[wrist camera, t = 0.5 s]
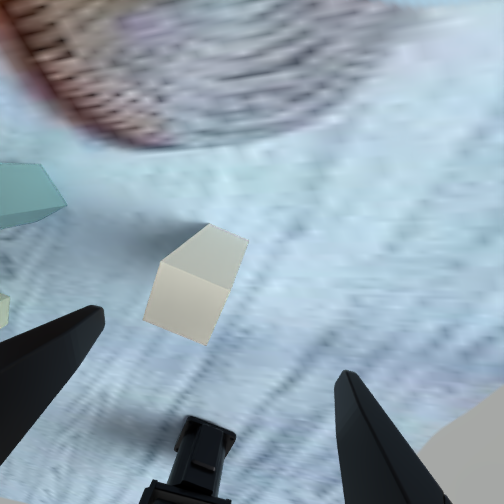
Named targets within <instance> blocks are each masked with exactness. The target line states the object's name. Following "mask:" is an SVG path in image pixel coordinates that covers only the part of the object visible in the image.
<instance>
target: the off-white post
mask: <svg viewBox="0 0 504 504" xmlns="http://www.w3.org/2000/svg"><path fill="white" fill-rule="evenodd" d="M248 243H249V240H247V239H245V238H242V237H240V236H238V235H235V234H233V233H231V232H228V231H226V230H224V229H222V228H219V227H217V226H215V225H212V224H210V223H209V224H208V225H207V226H205V227H204V228H203V229H201V230H200V231H199V232H198V233H196V234H195V235H194V236H192V237H191V238H190V239H189V240H187V241H186V242H185V243H183V244H182V245H181V246H180V247H178V248H177V249H176V250H174V251H173V252H172V253H170V254H169V255H168V256H167V257H165V258H164V259H163V260H161V261H160V265H159V268H158V271H157V274H156V278H155V281H154V284H153V287H152V291H151V294H150V297H149V300H148V304H147V307H146V310H145V313H144V317H143V321H146V322H148V323H151V324H153V325H156V326H158V327H161V328H163V329H166V330H168V331H171V332H173V333H175V334H178V335H180V336H183V337H185V338H188V339H190V340H193V341H195V342H198V343H200V344H203V345H205V346H207V343H208V341H209V339H210V337H211V334H212V332H213V330H214V327H215V325H216V323H217V321H218V318H219V316H220V314H221V312H222V309H223V307H224V305H225V302H226V300H227V298H228V296H229V293H230V291H231V288H232V286H233V283H234V280H235V278H236V275H237V272H238V270H239V267H240V264H241V262H242V259H243V256H244V254H245V251H246V248H247V246H248Z"/></svg>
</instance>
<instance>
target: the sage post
mask: <svg viewBox="0 0 504 504" xmlns="http://www.w3.org/2000/svg"><path fill="white" fill-rule="evenodd" d="M9 303H10V297H9V296H7V295H4V294H2V293H0V329H1V328H2V327H4V326H6V325H8V316H9Z"/></svg>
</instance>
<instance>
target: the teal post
mask: <svg viewBox="0 0 504 504" xmlns="http://www.w3.org/2000/svg"><path fill="white" fill-rule="evenodd" d="M65 206H67V204H66V202H65V201H64V199H63V198H62V196H61V195H60V193H59V192H58V190H57V189H56V187H55V185H54V184H53V182H52V181H51V179H50V178H49V176H48V175H47V173H46V172H45V170H44V168H43V167H42V165H41V164H17V163H0V229H4V228H9V227H13V226H18V225H23V224H28V223H33V222H37V221H39V220H41V219H43V218H45V217H46V216H48V215H50V214H52V213H54V212H56V211H58V210H59V209H61V208H63V207H65Z"/></svg>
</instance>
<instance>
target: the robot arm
mask: <svg viewBox="0 0 504 504" xmlns="http://www.w3.org/2000/svg"><path fill="white" fill-rule="evenodd" d="M104 326H105V317H104V309H103V308H102V307H99V306H96V305H89V306H86V307H84V308H82V309H79V310H77V311H74V312H72V313H70V314H67V315H65V316H62V317H60V318H58V319H55V320H53V321H50V322H48V323H46V324H43V325H41V326H38V327H36V328H34V329H31V330H29V331H26V332H24V333H22V334H19V335H17V336H14V337H12V338H10V339H7V340H5V341H3V342H0V466H1V465H2V463H3V462H4V461H5V460H6V458H7V457H8V456H9V454H10V453H11V452H12V451H13V449H14V448H15V447H16V446H17V444H18V443H19V442H20V441H21V439H22V438H23V437H24V436H25V434H26V433H27V432H28V431H29V429H30V428H31V427H32V426H33V424H34V423H35V422H36V421H37V419H38V418H39V417H40V415H41V414H42V413H43V412H44V410H45V409H46V408H47V407H48V405H49V404H50V403H51V402H52V400H53V399H54V398H55V397H56V395H57V394H58V393H59V392H60V390H61V389H62V388H63V387H64V385H65V384H66V383H67V382H68V380H69V379H70V378H71V376H72V375H73V374H74V373H75V371H76V370H77V369H78V367H79V366H80V364H81V363H82V361H83V360H84V358H85V357H86V355H87V354H88V352H89V351H90V349H91V348H92V346H93V344H94V343H95V341H96V340H97V338H98V337H99V335H100V334H101V332H102V331H103V329H104ZM334 398H335V424H336V439H337V448H338V455H339V462H340V470H341V477H342V484H343V492H344V499H345V504H452V502H451V501H450V500H449V498H448V497H447V496H446V495H445V494H444V492H443V490H442V489H441V488H440V486H439V485H438V483H437V482H436V481H435V479H434V478H433V477H432V475H431V474H430V473H429V471H428V470H427V469H426V467H425V466H424V465H423V463H422V462H421V461H420V459H419V458H418V456H417V455H416V453H415V452H414V451H413V449H412V448H411V447H410V445H409V444H408V443H407V441H406V440H405V439H404V437H403V436H402V434H401V433H400V432H399V430H398V429H397V428H396V426H395V425H394V424H393V422H392V421H391V419H390V418H389V417H388V415H387V414H386V413H385V411H384V410H383V409H382V407H381V406H380V404H379V403H378V402H377V400H376V399H375V398H374V396H373V395H372V394H371V392H370V391H369V389H368V388H367V387H366V385H365V384H364V383H363V381H362V380H361V379H360V377H359V376H358V375H357V374H356V373H355V372H353V371H349V370H343V371H342V373H341V375H340V376H339V378H338V379H337V381H336V383H335V386H334ZM235 440H236V434H234V433H232V432H229V431H227V430H224V429H222V428H219V427H217V426H214V425H212V424H209V423H207V422H204V421H201V420H199V419H196V418H194V417H188V419H187V421H186V423H185V425H184V428H183V430H182V432H181V434H180V436H179V438H178V440H177V443H176V445H175V447H174V450H175V451H176V452H178V453H177V456H176V459H175V461H174V464H173V467H172V470H171V473H170V476H169V479H168V482H167V484H164V483H160V482H158V480H154V479H153V480H152V482H151V484H150V486H149V487H148V488H145V489H144V492H143V494H142V497H141V499H140V502H139V504H231V500H230V499H226V500H225V499H221V498H218V492H219V486H220V480H221V475H222V469H223V463H224V459H225V457H226V456H227V454H228V452H229V451H230V449H231V447H232V446H233V444H234V442H235Z"/></svg>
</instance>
